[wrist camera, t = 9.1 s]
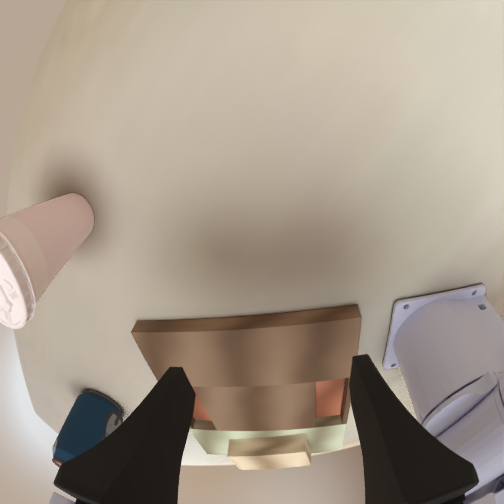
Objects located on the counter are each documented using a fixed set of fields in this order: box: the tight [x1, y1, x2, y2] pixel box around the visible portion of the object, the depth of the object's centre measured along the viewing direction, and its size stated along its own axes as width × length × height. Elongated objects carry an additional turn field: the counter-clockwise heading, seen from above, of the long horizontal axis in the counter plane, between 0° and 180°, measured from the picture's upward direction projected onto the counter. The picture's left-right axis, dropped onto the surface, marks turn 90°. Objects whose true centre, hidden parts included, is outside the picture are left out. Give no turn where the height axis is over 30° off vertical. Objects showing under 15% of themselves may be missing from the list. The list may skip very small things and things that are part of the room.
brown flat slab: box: [131, 305, 362, 455], centre depth 26 cm, size 18×24×2 cm
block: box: [227, 433, 311, 470], centre depth 28 cm, size 9×5×2 cm, turn 107°
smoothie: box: [0, 193, 94, 329], centre depth 13 cm, size 6×6×14 cm
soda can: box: [52, 391, 123, 467], centre depth 26 cm, size 7×7×12 cm
